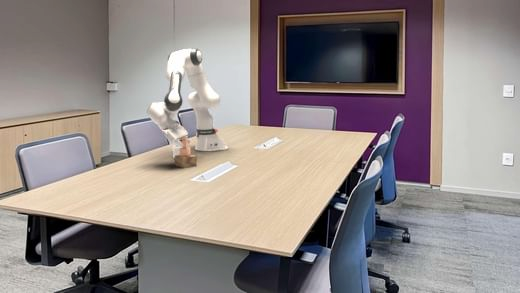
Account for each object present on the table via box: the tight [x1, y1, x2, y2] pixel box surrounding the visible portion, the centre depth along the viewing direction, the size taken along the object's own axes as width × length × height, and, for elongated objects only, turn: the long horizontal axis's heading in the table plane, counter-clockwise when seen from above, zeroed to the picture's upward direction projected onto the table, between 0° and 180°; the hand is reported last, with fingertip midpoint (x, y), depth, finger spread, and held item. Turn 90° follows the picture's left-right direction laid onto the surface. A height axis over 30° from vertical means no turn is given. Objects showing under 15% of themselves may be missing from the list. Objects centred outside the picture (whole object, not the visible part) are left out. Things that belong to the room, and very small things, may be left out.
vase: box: [180, 138, 192, 157], centre depth 260 cm, size 5×5×10 cm
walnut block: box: [174, 154, 198, 169], centre depth 261 cm, size 9×9×6 cm
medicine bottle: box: [171, 139, 182, 159], centre depth 283 cm, size 7×7×12 cm
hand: (186, 144), depth 260 cm, fingers open, 8 cm apart
